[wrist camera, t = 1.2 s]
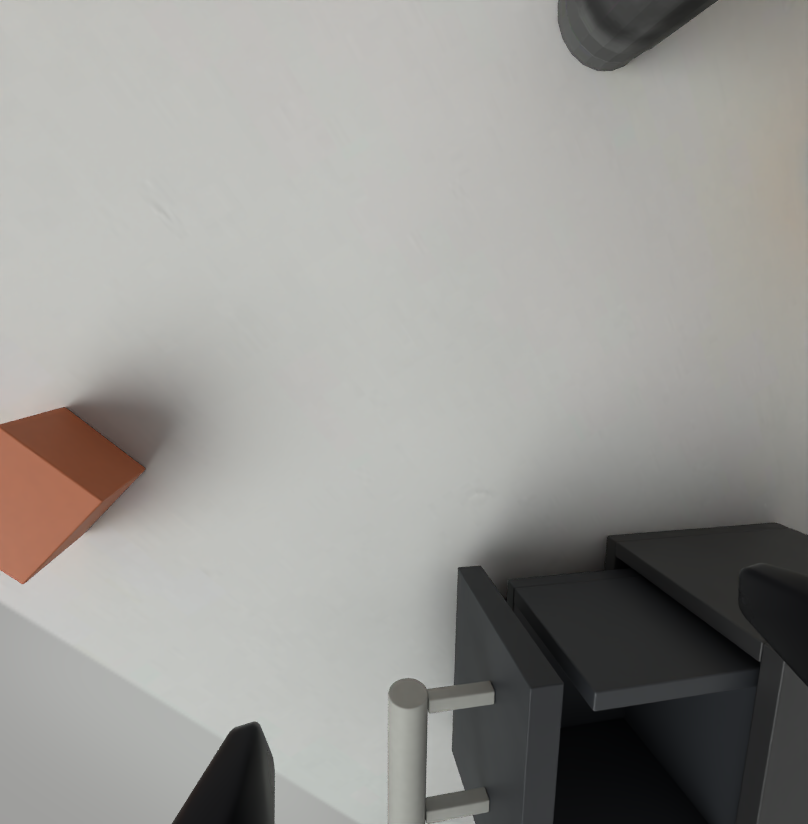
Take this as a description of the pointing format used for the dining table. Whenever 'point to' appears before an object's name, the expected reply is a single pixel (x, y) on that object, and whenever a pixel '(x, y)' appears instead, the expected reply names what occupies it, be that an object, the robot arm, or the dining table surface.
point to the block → (54, 487)
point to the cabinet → (718, 606)
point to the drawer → (579, 708)
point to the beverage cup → (621, 27)
